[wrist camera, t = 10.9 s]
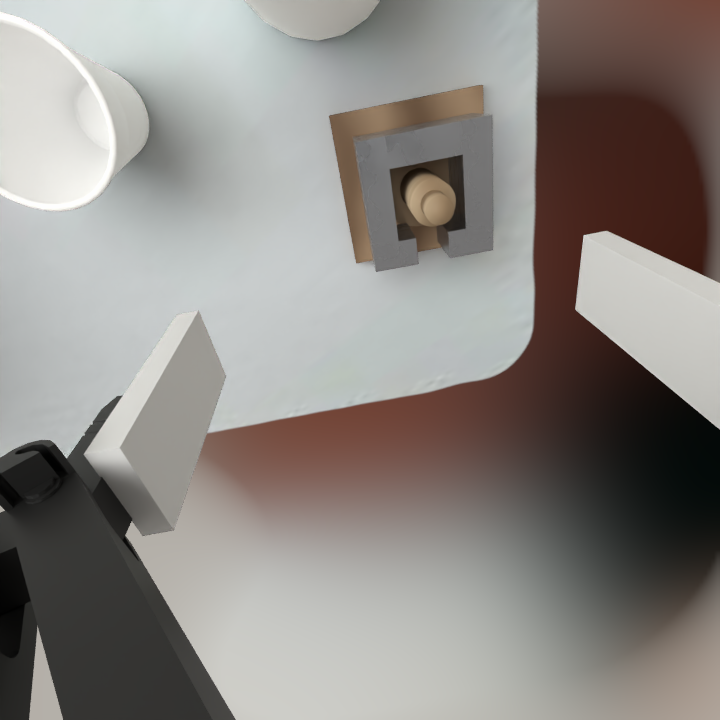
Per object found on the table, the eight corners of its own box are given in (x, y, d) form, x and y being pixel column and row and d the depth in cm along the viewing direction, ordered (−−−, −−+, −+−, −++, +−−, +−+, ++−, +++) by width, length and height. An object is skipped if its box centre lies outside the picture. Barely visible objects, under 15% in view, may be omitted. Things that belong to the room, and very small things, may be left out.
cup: (122, 206, 37) (50, 243, 28) (13, 99, 32) (-116, 99, 23) (202, 130, 34) (153, 142, 25) (95, 1, 30) (-14, -43, 20)
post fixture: (355, 258, 40) (362, 311, 30) (329, 115, 34) (327, 123, 24) (480, 234, 40) (530, 281, 30) (477, 85, 34) (539, 80, 23)
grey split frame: (476, 233, 36) (493, 250, 32) (371, 253, 36) (376, 271, 32) (472, 112, 31) (492, 114, 27) (352, 136, 31) (355, 142, 28)
